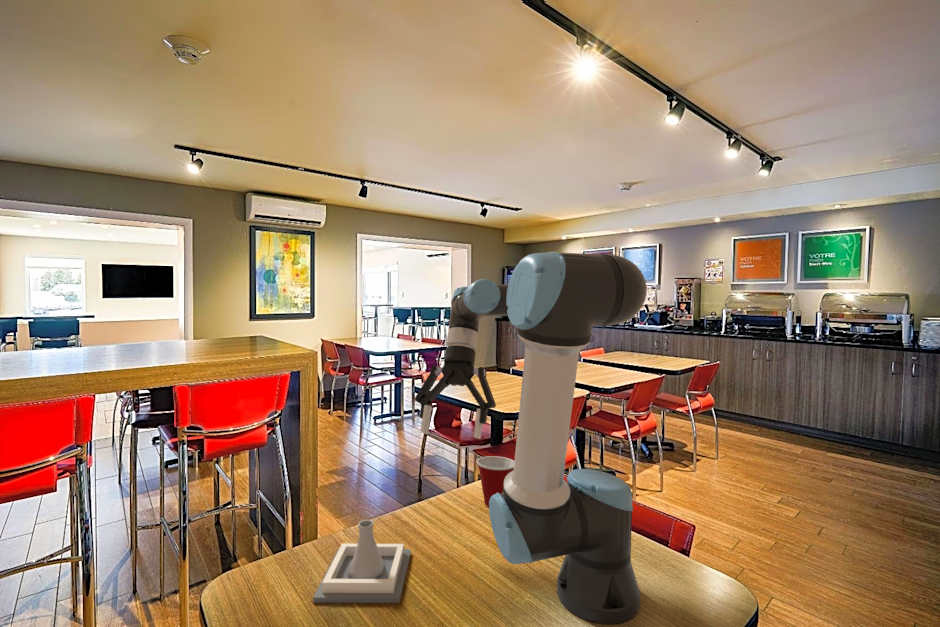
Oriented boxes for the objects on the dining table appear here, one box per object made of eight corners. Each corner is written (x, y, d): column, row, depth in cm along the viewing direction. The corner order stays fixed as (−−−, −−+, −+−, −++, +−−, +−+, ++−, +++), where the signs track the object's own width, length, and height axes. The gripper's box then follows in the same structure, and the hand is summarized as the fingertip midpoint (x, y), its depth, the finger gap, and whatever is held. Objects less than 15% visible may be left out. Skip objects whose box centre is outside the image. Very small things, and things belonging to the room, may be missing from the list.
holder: (410, 553, 103) (410, 540, 103) (399, 603, 87) (399, 587, 87) (337, 553, 103) (337, 540, 103) (313, 602, 87) (312, 587, 87)
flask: (376, 584, 91) (375, 534, 90) (341, 579, 92) (340, 530, 92) (389, 563, 98) (389, 516, 97) (357, 558, 99) (357, 512, 99)
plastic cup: (523, 501, 128) (523, 458, 127) (504, 517, 119) (504, 471, 118) (488, 491, 134) (489, 450, 133) (468, 507, 125) (468, 462, 124)
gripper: (513, 353, 116) (505, 441, 109) (422, 351, 125) (410, 432, 118) (504, 344, 109) (496, 438, 102) (409, 343, 118) (396, 429, 111)
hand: (450, 435), depth 110 cm, fingers open, 13 cm apart
